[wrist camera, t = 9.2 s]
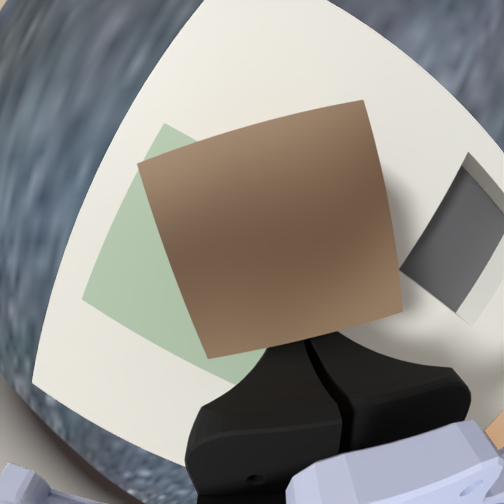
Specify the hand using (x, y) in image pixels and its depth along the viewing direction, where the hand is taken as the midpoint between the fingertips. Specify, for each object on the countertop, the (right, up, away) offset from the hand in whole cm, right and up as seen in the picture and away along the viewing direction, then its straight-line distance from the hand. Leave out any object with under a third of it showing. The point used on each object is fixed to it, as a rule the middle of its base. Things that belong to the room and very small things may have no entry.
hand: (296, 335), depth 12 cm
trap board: (+5, -2, +4) cm, 6 cm away
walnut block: (-1, +5, 0) cm, 5 cm away
